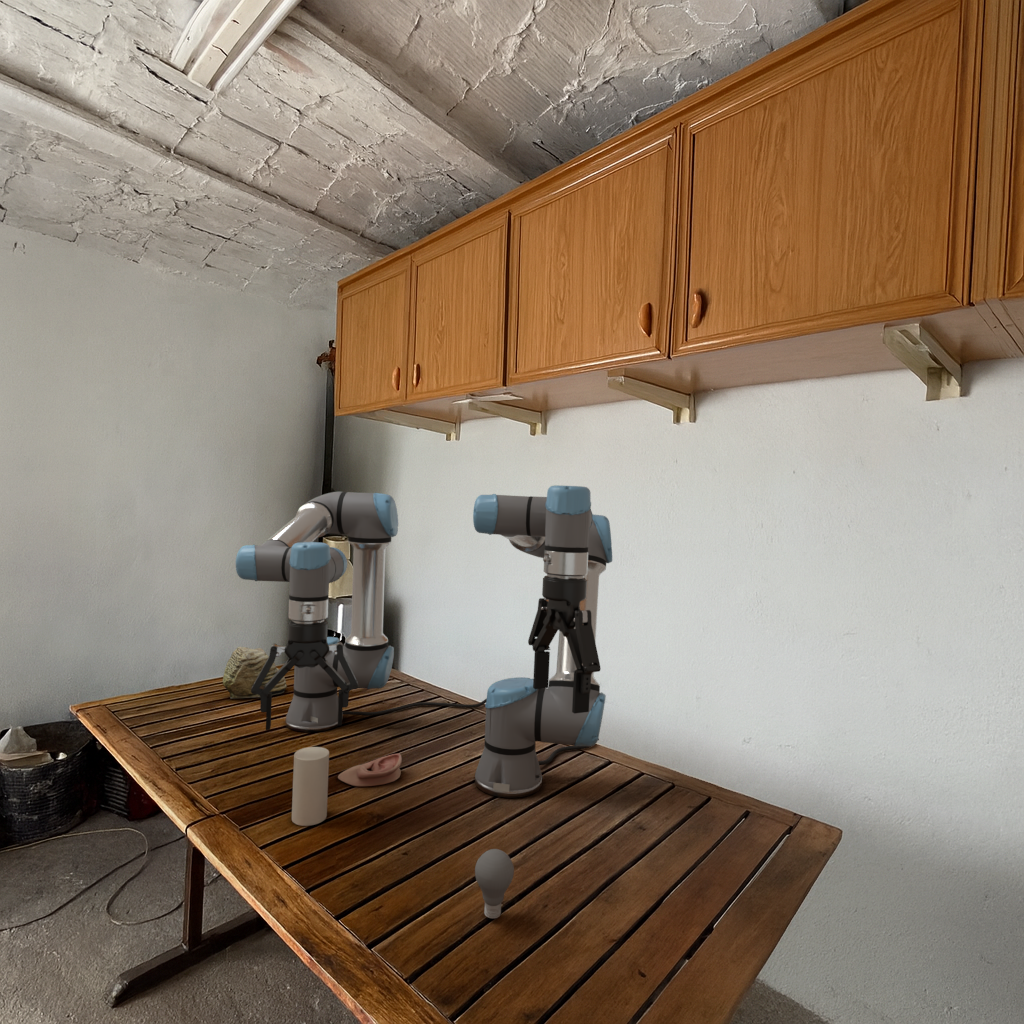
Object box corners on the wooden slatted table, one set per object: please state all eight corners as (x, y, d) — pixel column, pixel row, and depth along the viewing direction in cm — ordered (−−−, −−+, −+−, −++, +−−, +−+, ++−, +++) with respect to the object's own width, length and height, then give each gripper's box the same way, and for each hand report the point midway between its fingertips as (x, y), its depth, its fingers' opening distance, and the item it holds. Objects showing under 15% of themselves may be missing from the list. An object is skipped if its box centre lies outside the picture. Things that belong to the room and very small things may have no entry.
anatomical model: (331, 765, 140) (354, 745, 151) (331, 782, 140) (354, 762, 151) (388, 772, 137) (407, 752, 148) (387, 791, 137) (406, 769, 148)
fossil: (218, 695, 195) (220, 647, 195) (278, 685, 208) (279, 640, 207) (228, 703, 189) (230, 653, 188) (289, 692, 201) (290, 645, 201)
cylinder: (326, 824, 123) (329, 758, 123) (290, 827, 121) (293, 761, 121) (326, 807, 129) (329, 745, 129) (292, 810, 127) (294, 747, 127)
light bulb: (472, 903, 100) (475, 841, 100) (510, 903, 101) (513, 841, 101) (473, 929, 94) (476, 863, 94) (513, 928, 95) (516, 862, 95)
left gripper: (238, 625, 119) (234, 736, 120) (373, 622, 126) (369, 727, 127) (242, 617, 126) (239, 722, 127) (370, 615, 134) (366, 714, 134)
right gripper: (513, 567, 118) (508, 681, 118) (585, 586, 95) (579, 726, 96) (548, 567, 121) (543, 677, 121) (626, 585, 99) (620, 721, 99)
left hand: (304, 725), depth 127 cm, fingers open, 13 cm apart
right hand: (559, 699), depth 109 cm, fingers open, 13 cm apart
